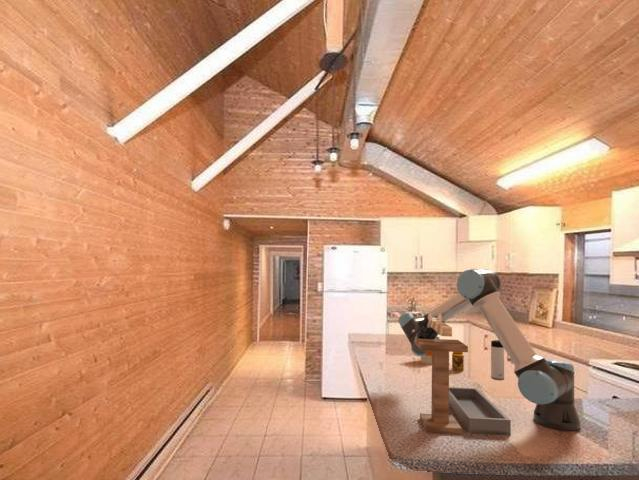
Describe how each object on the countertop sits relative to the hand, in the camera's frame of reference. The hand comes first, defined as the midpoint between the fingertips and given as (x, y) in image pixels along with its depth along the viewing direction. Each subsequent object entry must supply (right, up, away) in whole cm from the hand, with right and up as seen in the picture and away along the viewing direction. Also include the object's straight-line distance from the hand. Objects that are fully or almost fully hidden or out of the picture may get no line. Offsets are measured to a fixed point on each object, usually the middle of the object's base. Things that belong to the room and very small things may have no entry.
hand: (435, 317), depth 152 cm
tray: (+15, -39, +2) cm, 42 cm away
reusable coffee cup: (+21, -44, +85) cm, 98 cm away
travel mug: (+48, -43, +53) cm, 83 cm away
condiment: (+32, -43, +68) cm, 87 cm away
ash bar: (0, -4, -4) cm, 6 cm away
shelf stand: (-1, -38, -9) cm, 39 cm away
